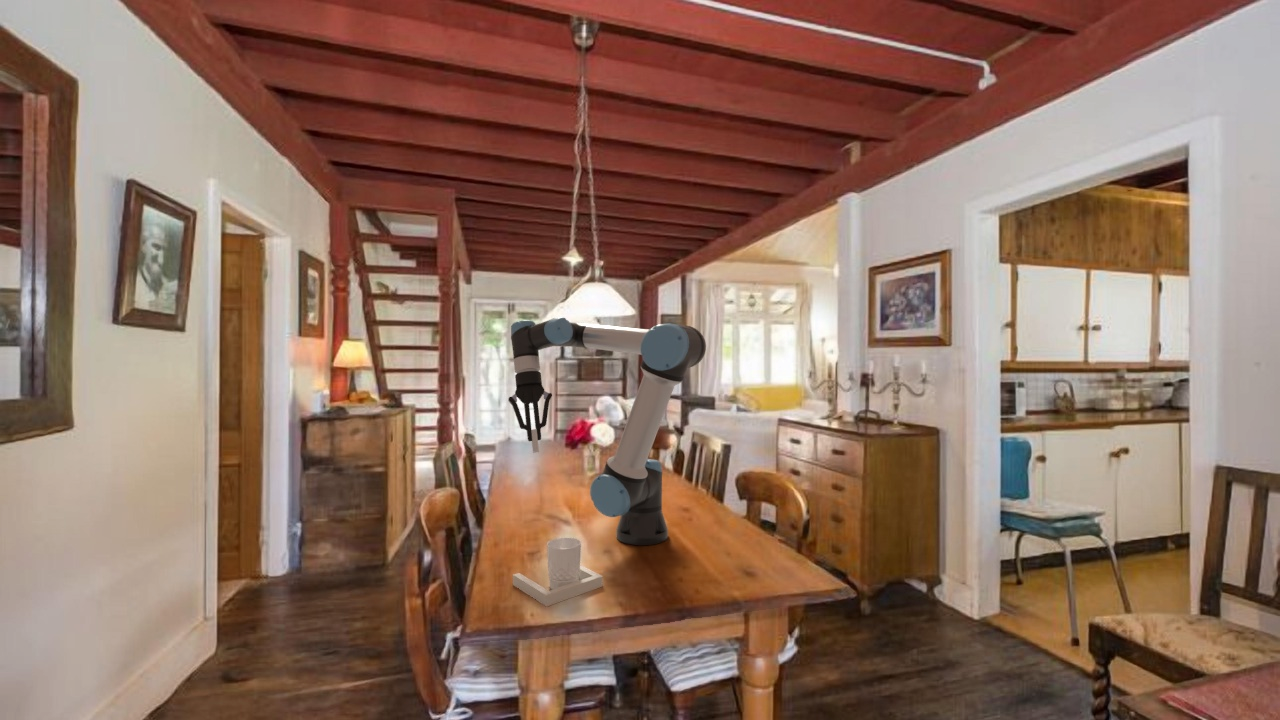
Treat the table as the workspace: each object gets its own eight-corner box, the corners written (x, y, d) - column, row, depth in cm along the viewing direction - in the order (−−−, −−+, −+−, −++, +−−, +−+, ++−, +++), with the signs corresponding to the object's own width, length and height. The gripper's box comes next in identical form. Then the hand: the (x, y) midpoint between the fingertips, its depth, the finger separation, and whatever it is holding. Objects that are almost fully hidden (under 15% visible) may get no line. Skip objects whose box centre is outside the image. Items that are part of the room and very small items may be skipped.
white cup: (562, 596, 121) (562, 551, 121) (540, 586, 127) (539, 543, 126) (588, 585, 127) (588, 542, 127) (565, 575, 132) (565, 535, 132)
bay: (512, 584, 127) (512, 574, 127) (567, 567, 137) (567, 558, 137) (546, 606, 116) (546, 595, 116) (602, 586, 126) (602, 576, 126)
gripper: (548, 373, 167) (556, 450, 163) (504, 377, 164) (512, 456, 159) (551, 368, 160) (560, 448, 156) (505, 371, 156) (513, 454, 152)
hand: (535, 452), depth 157 cm, fingers closed
